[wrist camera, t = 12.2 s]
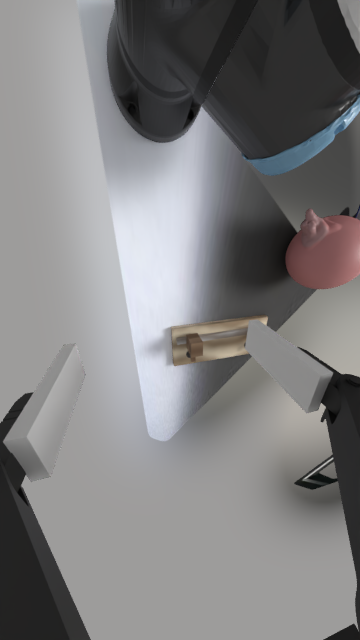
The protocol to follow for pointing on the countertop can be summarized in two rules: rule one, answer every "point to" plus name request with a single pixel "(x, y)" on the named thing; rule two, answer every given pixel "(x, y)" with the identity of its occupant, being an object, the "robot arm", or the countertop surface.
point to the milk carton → (358, 214)
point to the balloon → (325, 251)
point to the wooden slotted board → (211, 340)
